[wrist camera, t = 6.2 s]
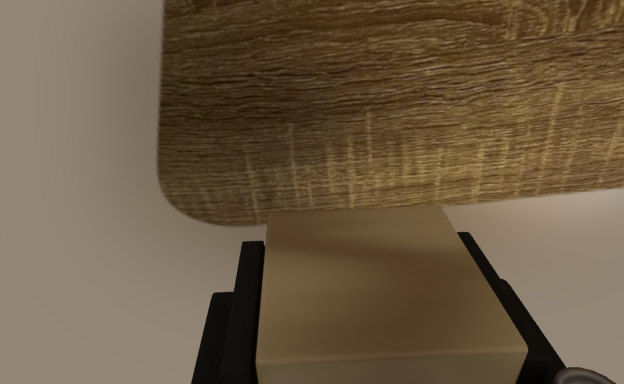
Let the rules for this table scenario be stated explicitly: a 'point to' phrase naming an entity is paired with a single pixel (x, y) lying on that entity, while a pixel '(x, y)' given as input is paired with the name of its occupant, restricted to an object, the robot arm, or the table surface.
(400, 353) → the block
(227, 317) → the robot arm
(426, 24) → the table surface
